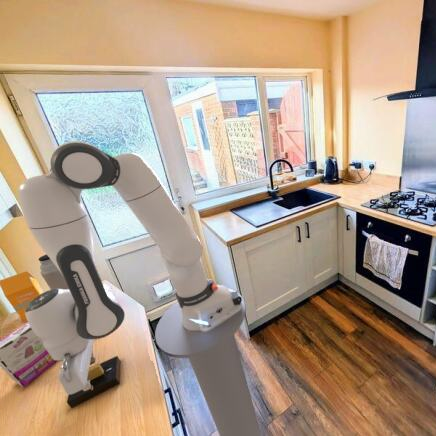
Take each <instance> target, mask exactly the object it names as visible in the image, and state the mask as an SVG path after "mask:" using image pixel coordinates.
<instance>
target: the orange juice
mask: <svg viewBox="0 0 436 436" xmlns="http://www.w3.org/2000/svg"><path fill="white" fill-rule="evenodd" d="M0 288H1V290H2V293H3V295H4V297H5V298H6V300H7V301H8V302H9V304H10V305H11V307H12V308H13V309H14V311H15V312H16V313H17V315H18V316H19V317H20V318H21V320H22V321H23V323H26V322H28V321H27V319H26V316H25V311H26V308H27V306H28V304H29V303H30V302H31V301H32V300H33V299H34V298H36V297H37V296H39V295H40V294H42V293H44V292H45V291H44V290H43V288H42V287H41V285H40V284H39V282H38V281H37V279H36V278H35V277H34V276H33V275H32V274H30V272H28V271H27V270H25V271H23V272H20V273H17V274H15V275H12V276H8V277H6V278H2V279H0Z"/></svg>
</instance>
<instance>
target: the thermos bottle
mask: <svg viewBox="0 0 436 436" xmlns="http://www.w3.org/2000/svg"><path fill="white" fill-rule="evenodd" d="M38 261H39V263H40V265H39V270H40V272H39V273H40V275H41V277H42V279H44V282H45V283H46V284H47V287H49V290H52V289H69V288H68V286H67V283H66V281H65V279H64V277H63V276H62V274H61V273H60V271H59V270H58V268H57V267H56V266H55V264H54V263H53V262H52V260H51V259H50V258H49V257H48V255H47V254H46V253H45V254H44V255H42V256H40V257H38Z"/></svg>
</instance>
